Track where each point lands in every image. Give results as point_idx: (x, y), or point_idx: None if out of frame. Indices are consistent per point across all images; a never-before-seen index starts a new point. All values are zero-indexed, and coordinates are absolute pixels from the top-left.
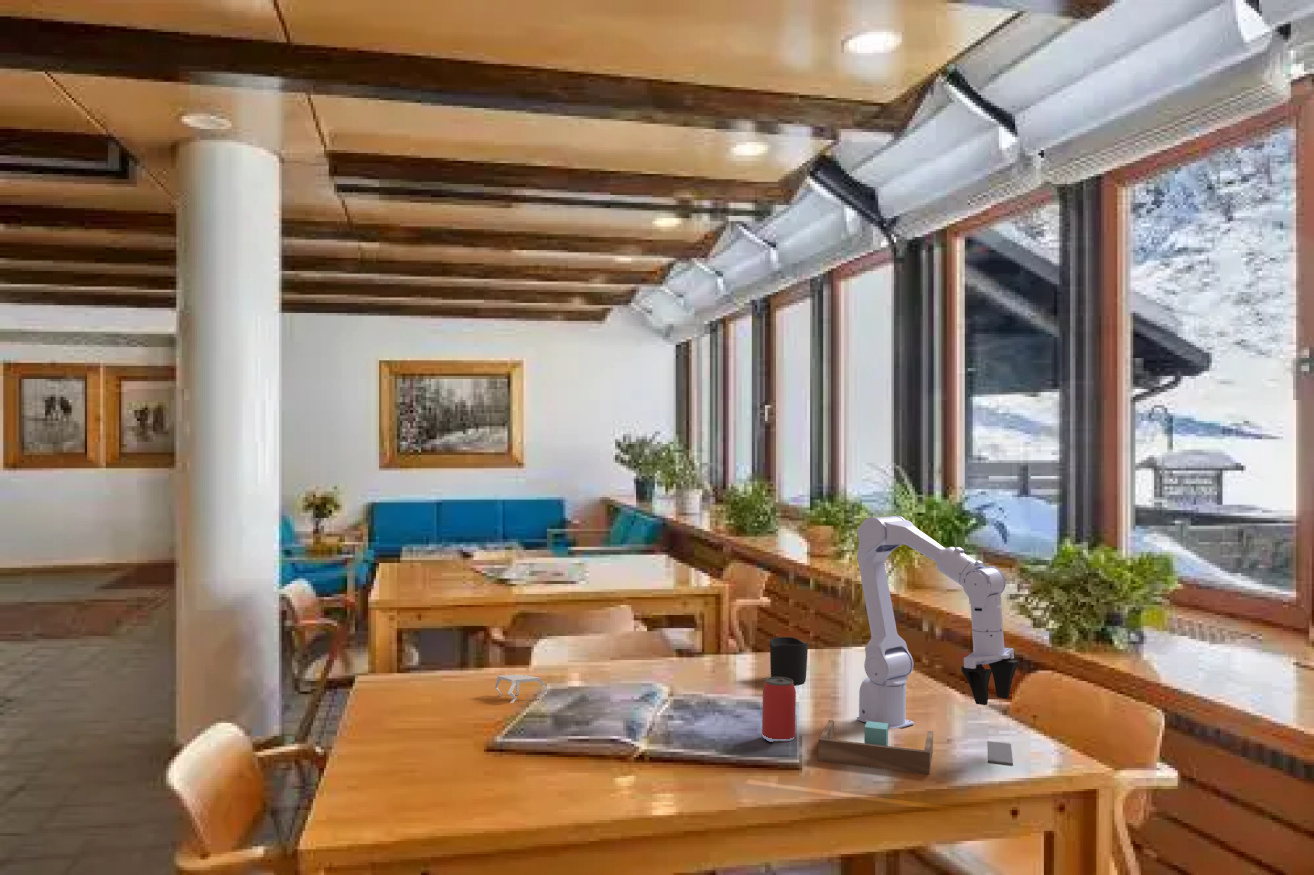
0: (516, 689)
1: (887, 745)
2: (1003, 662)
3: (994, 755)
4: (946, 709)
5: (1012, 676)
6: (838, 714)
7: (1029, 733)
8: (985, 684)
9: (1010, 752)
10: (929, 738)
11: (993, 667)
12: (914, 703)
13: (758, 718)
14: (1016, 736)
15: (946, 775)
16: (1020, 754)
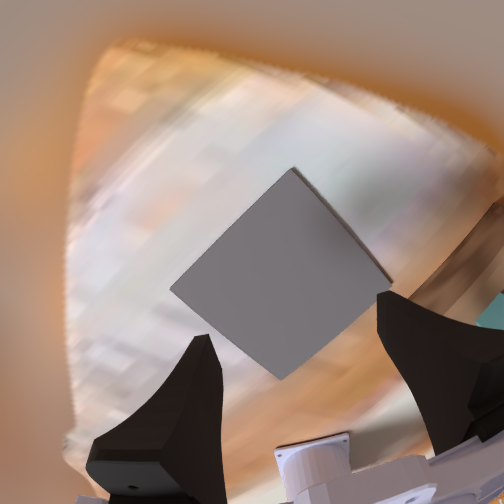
0: (499, 501)
1: (495, 321)
2: (194, 494)
3: (288, 236)
4: None
5: (155, 400)
6: None
7: (69, 330)
8: (457, 324)
9: (226, 237)
10: (470, 292)
11: (219, 489)
12: None
13: None
14: (108, 330)
15: (466, 196)
16: (197, 226)
